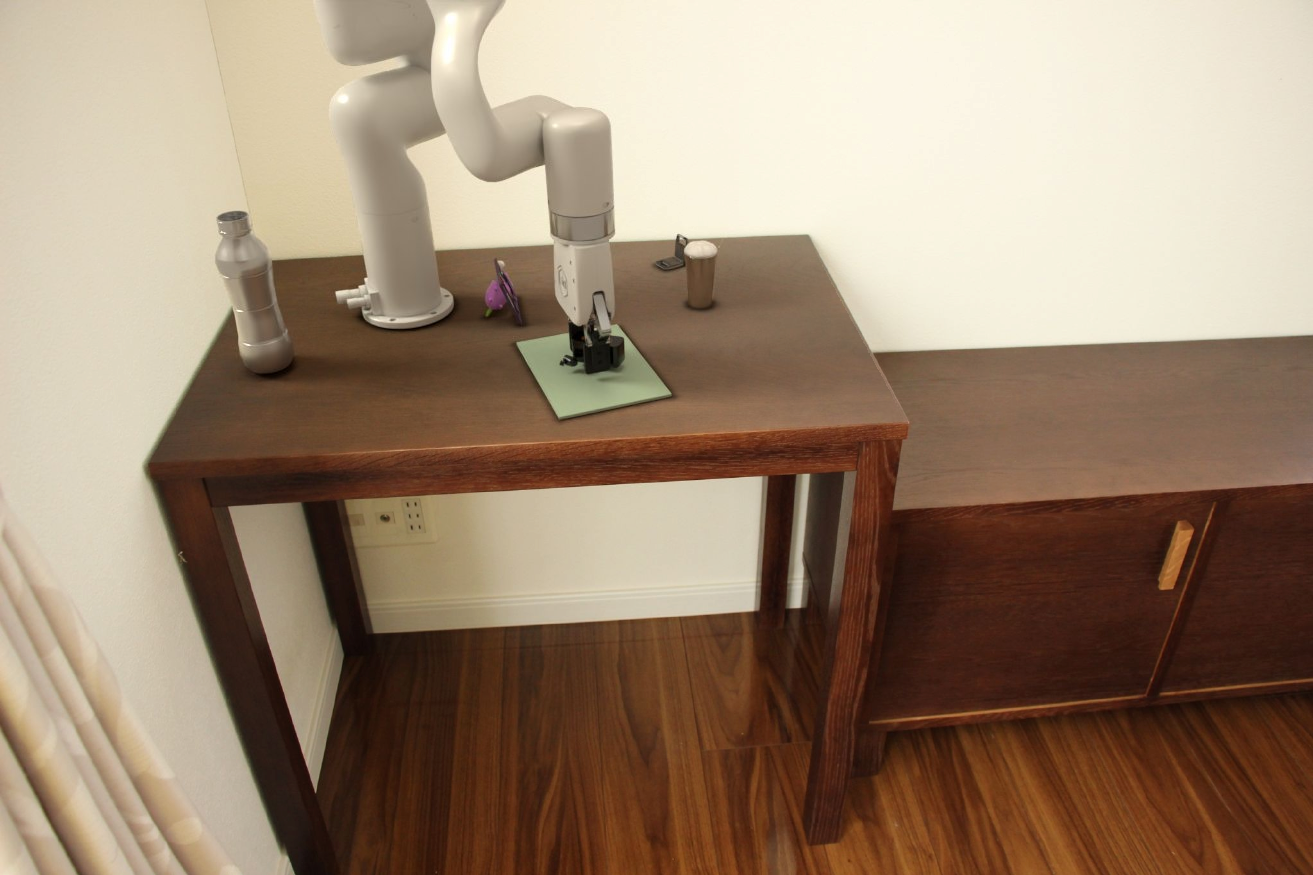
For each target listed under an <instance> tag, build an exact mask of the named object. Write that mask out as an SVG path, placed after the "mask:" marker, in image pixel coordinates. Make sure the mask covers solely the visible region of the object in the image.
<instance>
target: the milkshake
mask: <svg viewBox="0 0 1313 875" xmlns="http://www.w3.org/2000/svg"><path fill="white" fill-rule="evenodd" d="M723 240H724V238H722V239H721V241H720V243H719V245H718V248H717V246H716V245H715V244H714V243H712V242H710V241H708V240H704V239H703V240H702V239H701V240H692V241H689V243H688V244H687V246H686V247H685V249H684V255H685V262H684V264H685V272H686V273H685V274H686V285H687V286H686V287H687V288H686V289H687V301H688V305H689V306H690V307H691V308H694V309H706V308H709V307H710V306H711V305H713V304H712V302H713V294H714V284H715V273H716V264H717V257H718V250H719V248H720V247H721V245H722V243H723Z"/></svg>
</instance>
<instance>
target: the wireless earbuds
mask: <svg viewBox="0 0 1313 875" xmlns="http://www.w3.org/2000/svg"><path fill="white" fill-rule="evenodd" d="M592 333H593V332H591V334H592ZM571 339H572V353H573V357H572V356H569V355H565V356H564V358H563V361H562V360H561V361H560V364H559V365H561V366H564V364H565V365H567V366H571V367H575V366H576V365H577V364H578V362H580V363H584V352H583V344H586V341H585V334H584V331H578V332H577V333H576V334H575V335H574V336H573V337H572V338H571ZM624 360H625V345H624V338H623V337H620V336H613V335H610V361H611V368H618V367H619V366H620V365H621V364H622V362H623V361H624Z"/></svg>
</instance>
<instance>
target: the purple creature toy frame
mask: <svg viewBox="0 0 1313 875" xmlns="http://www.w3.org/2000/svg"><path fill="white" fill-rule="evenodd" d="M493 261H494V267H495V272H496V280H494V279H492V281H491V283H490V284H489V285H488V288H487V289H486V291H485V294H484V302H485V304H486V306H487V307H488V309H487V310H486V312H485V315H484V316H485V317H486V318H488V317H489V316H490V314H491V313H492V311H498V310H500V309H503V307H504V306H505V304H506V303H507V304H508V306H509V308H510V310H511V311H512V314H513V315H514V318H515V319H516V321H517V323H518V325H519V326H522V325H523V322H522V316H521V312H520V307H519V304H518V298H517V295H516V291H515V288H514V284H513V282H512V281H511V278H510V277H509V274H508V273H507V272H505V271H504V269H505V267H506V263H505V262H504V261H503V260H498V258H497V257H495V258H493Z"/></svg>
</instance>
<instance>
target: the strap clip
mask: <svg viewBox="0 0 1313 875" xmlns="http://www.w3.org/2000/svg"><path fill="white" fill-rule="evenodd" d="M680 239H683V240H684V241H685V244H684V243H682V242H681V241H680ZM688 243H690V240H689V238H688V237H687V236H684V235H682V234H681V233H677V234H676V237H675V243H674V244H675V245H674V256H671V257H666V258H663V259H659V260H656V261H655V262H654V264H655V266H657V267H659V268H661V269H663V270H674V269H676V268H680V267H682V266H684V264H685V255H684V249H685V247H686V246H687V244H688Z"/></svg>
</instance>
